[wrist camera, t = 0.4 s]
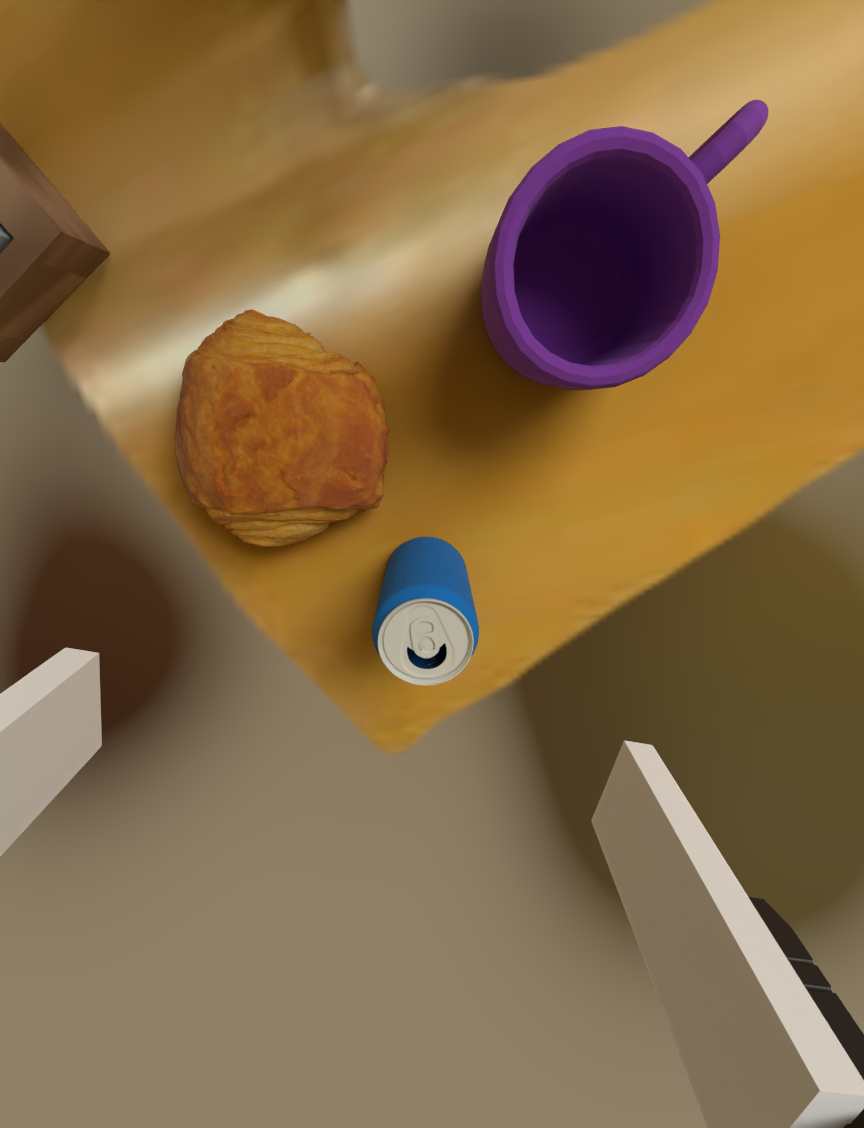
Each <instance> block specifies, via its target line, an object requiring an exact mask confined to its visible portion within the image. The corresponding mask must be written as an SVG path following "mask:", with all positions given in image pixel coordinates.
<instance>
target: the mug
mask: <svg viewBox="0 0 864 1128" xmlns="http://www.w3.org/2000/svg"><path fill="white" fill-rule="evenodd" d="M767 117H768V108H767V105H766V104H765V103H764V102H763V101H761V100H753V101H750V102H748V103H747V104H746V105H744V106H743V107H742V108H741V109H740V110H739V111H737V112H736V113H735V114H734V115H733V116H732V117H731V118H730V119H729V120H728V121H727V122H726V123H725V124H724V125H722V126H721V127H720V128H719V129H718V130H717V131H716V132H715V133H714V134H713V135H712V136H711V137H710V138H709V139H708V140H707V141H705V142H704V143H703V144H702V145H701V146H700V147H699V148H698V149H697V150H696V151H695V152H694V153H693V154H692V155H691V156H690V157H689V158H688V157H687V155H686V154H685V153H684V152H683V151H682V150H681V149H680V148H678V147H676V146H675V145H673V144H671V143H670V142H668V141H666V140H664V139H663V138H661V137H659V136H658V135H656V134H654V133H651V132H647V131H642V130H637V129H633V128H628V127H623V126H619V127H611V128H602V129H594V130H589V131H586V132H584V133H582V134H580V135H578V136H576V137H573V138H571V139H569V140H567V141H565V142H563V143H561V144H559V145H557V146H556V147H555V148H554V149H553V150H552V151H550V152H549V153H548V154H547V155H546V156H545V157H543V158H542V159H541V160H540V161H539V162H537V163H536V164H535V165H534V166H533V167H532V168H531V169H530V170H529V172H528V173H527V174H526V176H525V177H524V178H523V180H522V181H521V182H520V184H519V185H518V187H517V188H516V189H515V191H514V192H513V193H512V195H511V196H510V198H509V199H508V201H507V204H506V206H505V208H504V211H503V213H502V216H501V218H500V220H499V223H498V225H497V227H496V230H495V233H494V235H493V237H492V240H491V242H490V245H489V248H488V252H487V256H486V260H485V265H484V271H483V278H482V284H481V302H482V316H483V320H484V323H485V326H486V329H487V333H488V336H489V339H490V341H491V343H492V344H493V346H494V347H495V349H496V351H497V352H498V354H499V356H500V357H501V359H502V360H503V361H504V362H506V363H507V364H508V365H509V366H510V367H511V368H512V369H513V370H514V371H516V372H517V373H518V374H520V375H522V376H524V377H526V378H528V379H530V380H532V381H534V382H536V383H538V384H542V385H548V386H554V387H559V388H565V389H572V390H591V389H600V388H610V387H616V386H619V385H621V384H624V383H626V382H629V381H631V380H634V379H636V378H639V377H641V376H644V375H645V374H647V373H648V372H649V371H651V370H652V369H654V368H655V367H656V366H658V365H659V364H661V363H662V362H663V361H665V360H666V359H668V358H669V357H670V356H671V355H672V354H673V353H674V351H675V350H676V349H677V348H678V347H679V346H680V345H681V344H682V343H683V342H684V340H685V339H686V338H687V337H688V336H689V335H690V334H691V332H692V330H693V329H694V327H695V325H696V323H697V322H698V320H699V318H700V316H701V315H702V313H703V311H704V309H705V308H706V306H707V304H708V301H709V297H710V294H711V291H712V288H713V284H714V281H715V278H716V274H717V270H718V256H719V243H720V233H719V226H718V220H717V213H716V207H715V202H714V200H713V197H712V195H711V193H710V190H709V188H708V186H707V184H708V183H709V182H710V181H711V180H712V179H713V178H714V177H715V176H716V175H717V174H718V173H719V172H720V171H722V170H723V169H724V168H725V167H726V166H727V165H728V164H729V163H730V162H731V161H732V160H733V159H734V158H735V157H736V156H737V155H738V154H739V153H740V152H741V151H742V150H743V149H744V148H745V147H746V146H747V145H748V144H749V143H750V142H751V141H752V140H753V139H754V138H755V137H756V136H757V135H758V133H759V132H760V130H761V129H762V127H763V126H764V124H765V123H766V120H767Z"/></svg>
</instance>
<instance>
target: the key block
mask: <svg viewBox="0 0 864 1128" xmlns="http://www.w3.org/2000/svg"><path fill="white" fill-rule="evenodd" d="M0 223H1V224H2V225H3V226H4V227H5V229H6V230H7V231H8V232H9V233H10V234H11V235H12V236H13V237H14V239H13V240H12V241H11V242H10V244H9V245H8V246H7V247H6V248H5V249H4V250H3V251H2V252H1V254H0V362H6V361H7V360H8V359H9V358H10V356H11V355H12V354H13V353H14V352H15V351H16V350H17V349H18V348H19V347H20V346H21V345H22V344H23V343H24V342H25V341H26V340H27V339H28V338H29V337H30V336H31V335H32V334H33V333H34V332H35V331H36V330H37V328H38V327H39V326H40V325H41V324H42V323H43V322H44V321H45V320H46V319H47V318H48V317H49V316H50V315H51V314H52V313H53V312H54V311H55V310H56V309H57V308H58V307H59V306H60V305H61V304H62V303H63V302H64V300H65V299H66V298H67V297H68V296H69V295H70V294H71V293H72V292H73V291H74V290H75V289H76V288H77V287H78V286H79V285H80V284H81V283H82V282H83V281H84V280H85V279H86V278H87V277H88V276H89V275H90V274H91V273H92V271H93V270H94V269H95V268H96V267H97V266H98V265H99V264H100V263H101V262H102V261H103V260H104V259H105V258H106V257H107V256H108V255H109V254H110V252H109V251H108V250H107V249H106V248H105V246H104V245H103V244H102V243H101V242H100V241H99V239H98V238H97V237H96V236H95V235H94V233H93V232H92V231H91V230H90V229H89V228H88V226H87V225H86V224H85V223H84V222H83V220H82V219H81V218H80V217H79V216H78V215H77V213H76V212H75V211H74V210H73V209H72V207H71V206H70V205H69V204H68V203H67V202H66V200H65V199H64V198H63V197H62V196H61V194H60V193H59V192H58V191H57V190H56V188H55V187H54V186H53V185H52V184H51V183H50V181H49V180H48V179H47V178H46V177H45V175H44V174H43V173H42V172H41V171H40V170H39V168H38V167H37V166H36V165H35V164H34V162H33V161H32V160H31V159H30V158H29V157H28V155H27V154H26V153H25V152H24V151H23V149H22V148H21V147H20V146H19V145H18V144H17V142H16V141H15V140H14V139H13V138H12V136H11V135H10V134H9V133H8V132H7V131H6V129H5V128H4V127H3V126H2V125H1V123H0Z"/></svg>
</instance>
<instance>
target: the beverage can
mask: <svg viewBox="0 0 864 1128" xmlns="http://www.w3.org/2000/svg"><path fill="white" fill-rule="evenodd" d="M372 634H373V641H374V645H375V648H376V650H377V652H378V654H379V656H380V657H381V659H382V661H383V663H384V665H385V666H386V667H387V669H388V670H389V671H390V672H391V673H392V674H394V675H395V676H396V677H398V678H400V679H401V680H403V681H406V682H408V683H411V684H416V685H436V684H440V683H443V682H446V681H448V680H450V679H452V678H454V677H455V676H456V675H458V674H459V673H460V672H461V671H462V670H463V669H464V668H465V666H466V665H467V663H468V662H469V660H470V658H471V656H472V655H473V653H474V651H475V649H476V646H477V642H478V637H479V626H478V620H477V616H476V611H475V607H474V602H473V597H472V593H471V588H470V584H469V579H468V575H467V570H466V566H465V563H464V560H463V558H462V556H461V555H460V553H459V552H458V551H457V550H456V549H455V548H454V547H453V546H452V545H450V544H449V543H447V542H445V541H443V540H441V539H438V538H433V537H419V538H414V539H411V540H409V541H407V542H405V543H403V544H402V545H400V546H399V547H398V548H397V549H396V550H395V551H394V552H393V554H392V555H391V557H390V559H389V561H388V564H387V567H386V571H385V575H384V580H383V584H382V588H381V592H380V597H379V601H378V605H377V609H376V613H375V618H374V622H373V630H372Z"/></svg>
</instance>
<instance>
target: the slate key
mask: <svg viewBox="0 0 864 1128" xmlns="http://www.w3.org/2000/svg"><path fill="white" fill-rule="evenodd" d="M13 239H14V237H13V236H12V235H11V234H10V233H9V232H8V231H7V230H6V229H5V227H4V226H3V225H2V224H1V223H0V254H1V252H2V251H3V250H4V249H5V248H6V247H7V246H8V245H9V244H10V242H11V241H12V240H13Z"/></svg>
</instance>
